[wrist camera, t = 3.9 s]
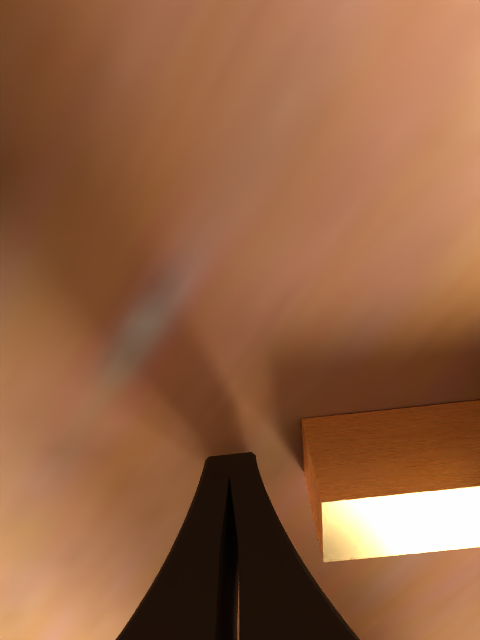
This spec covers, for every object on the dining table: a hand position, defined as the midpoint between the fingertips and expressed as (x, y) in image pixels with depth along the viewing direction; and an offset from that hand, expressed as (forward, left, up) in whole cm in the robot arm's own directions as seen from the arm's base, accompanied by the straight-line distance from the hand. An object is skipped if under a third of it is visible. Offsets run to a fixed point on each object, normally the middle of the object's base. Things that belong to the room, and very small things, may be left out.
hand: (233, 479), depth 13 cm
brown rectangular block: (0, -6, -1) cm, 6 cm away
